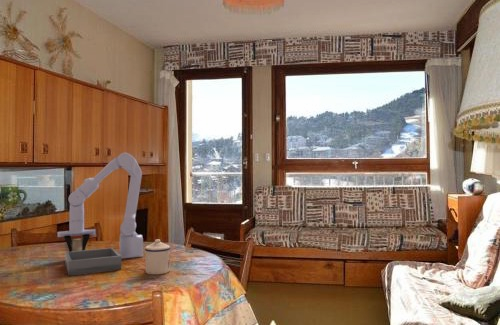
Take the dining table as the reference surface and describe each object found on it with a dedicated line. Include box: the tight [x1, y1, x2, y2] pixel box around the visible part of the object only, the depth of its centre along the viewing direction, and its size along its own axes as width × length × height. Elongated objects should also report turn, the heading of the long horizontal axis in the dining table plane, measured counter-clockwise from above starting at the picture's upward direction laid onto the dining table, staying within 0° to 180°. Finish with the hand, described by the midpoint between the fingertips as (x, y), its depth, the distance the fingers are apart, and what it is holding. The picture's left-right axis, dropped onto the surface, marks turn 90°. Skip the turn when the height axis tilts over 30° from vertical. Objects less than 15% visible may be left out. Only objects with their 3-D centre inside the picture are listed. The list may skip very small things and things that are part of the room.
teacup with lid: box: [144, 238, 171, 275], centre depth 154 cm, size 12×9×12 cm
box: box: [64, 247, 122, 276], centre depth 160 cm, size 18×18×5 cm
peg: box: [71, 238, 83, 251], centre depth 174 cm, size 4×4×8 cm
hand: (76, 253), depth 174 cm, fingers closed on peg, 4 cm apart
